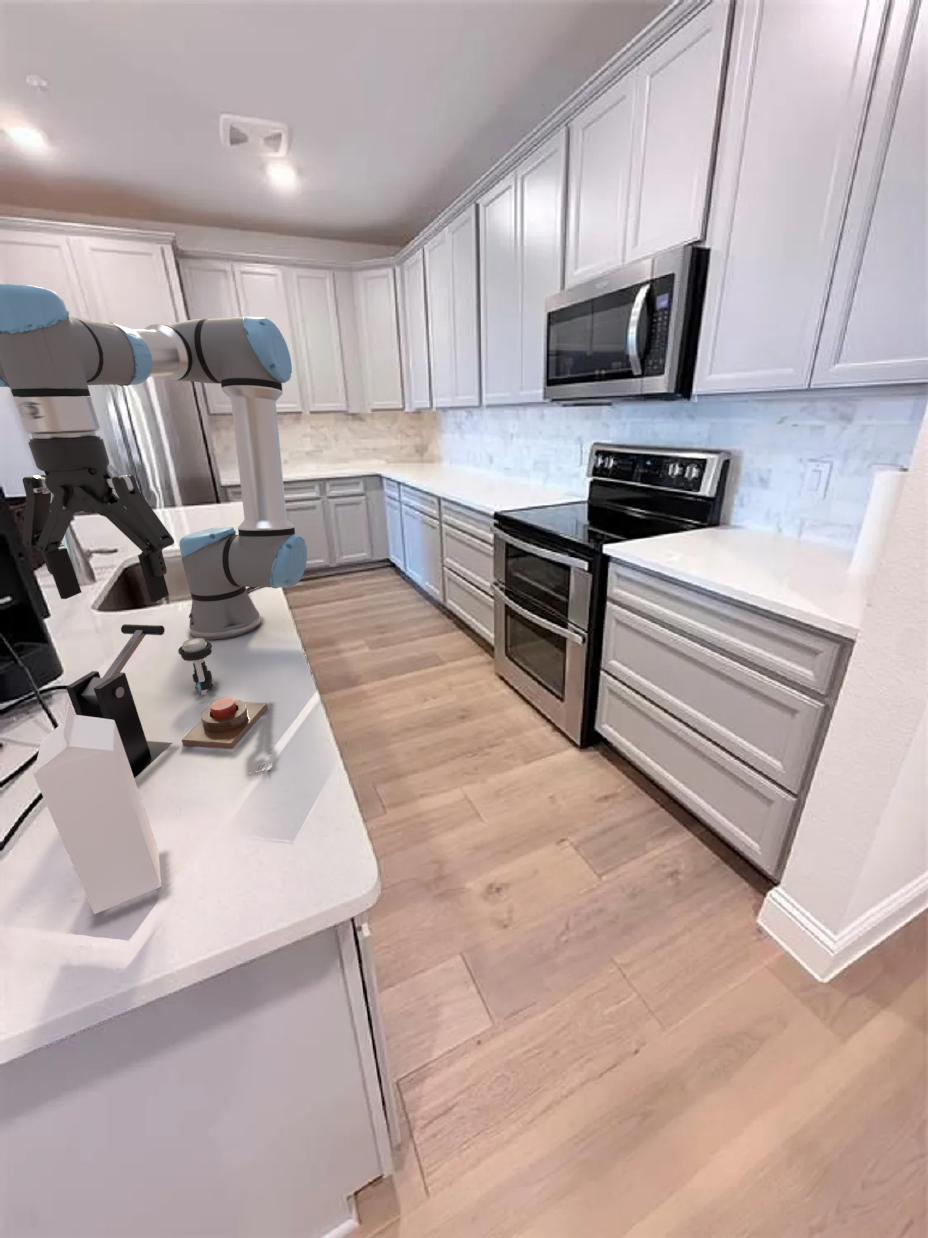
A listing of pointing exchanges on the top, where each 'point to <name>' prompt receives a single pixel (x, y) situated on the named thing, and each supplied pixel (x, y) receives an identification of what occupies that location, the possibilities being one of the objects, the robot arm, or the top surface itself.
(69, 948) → the top surface
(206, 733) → the button block
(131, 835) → the milk
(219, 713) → the button
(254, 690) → the top surface
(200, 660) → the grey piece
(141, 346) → the robot arm
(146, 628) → the switch lever
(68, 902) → the top surface
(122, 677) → the switch bracket
